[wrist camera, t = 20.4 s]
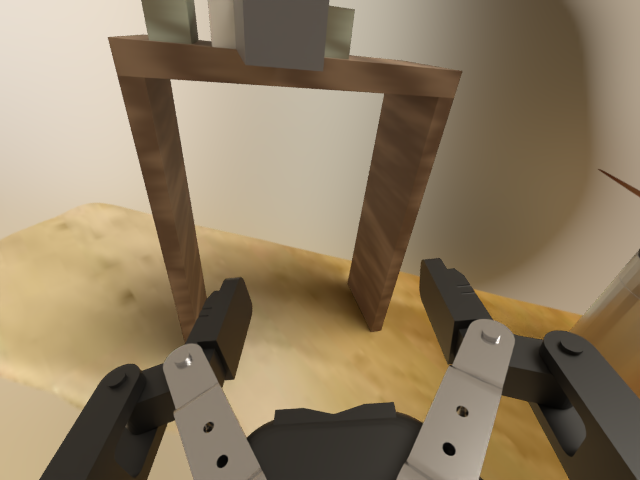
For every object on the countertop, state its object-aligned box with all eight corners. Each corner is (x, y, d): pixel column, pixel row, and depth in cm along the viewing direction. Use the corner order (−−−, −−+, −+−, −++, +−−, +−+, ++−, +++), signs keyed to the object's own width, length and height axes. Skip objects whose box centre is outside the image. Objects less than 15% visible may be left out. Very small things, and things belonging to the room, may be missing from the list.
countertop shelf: (356, 282, 50) (410, 26, 30) (380, 330, 42) (476, 25, 22) (195, 301, 43) (134, -11, 24) (189, 361, 35) (90, -31, 16)
